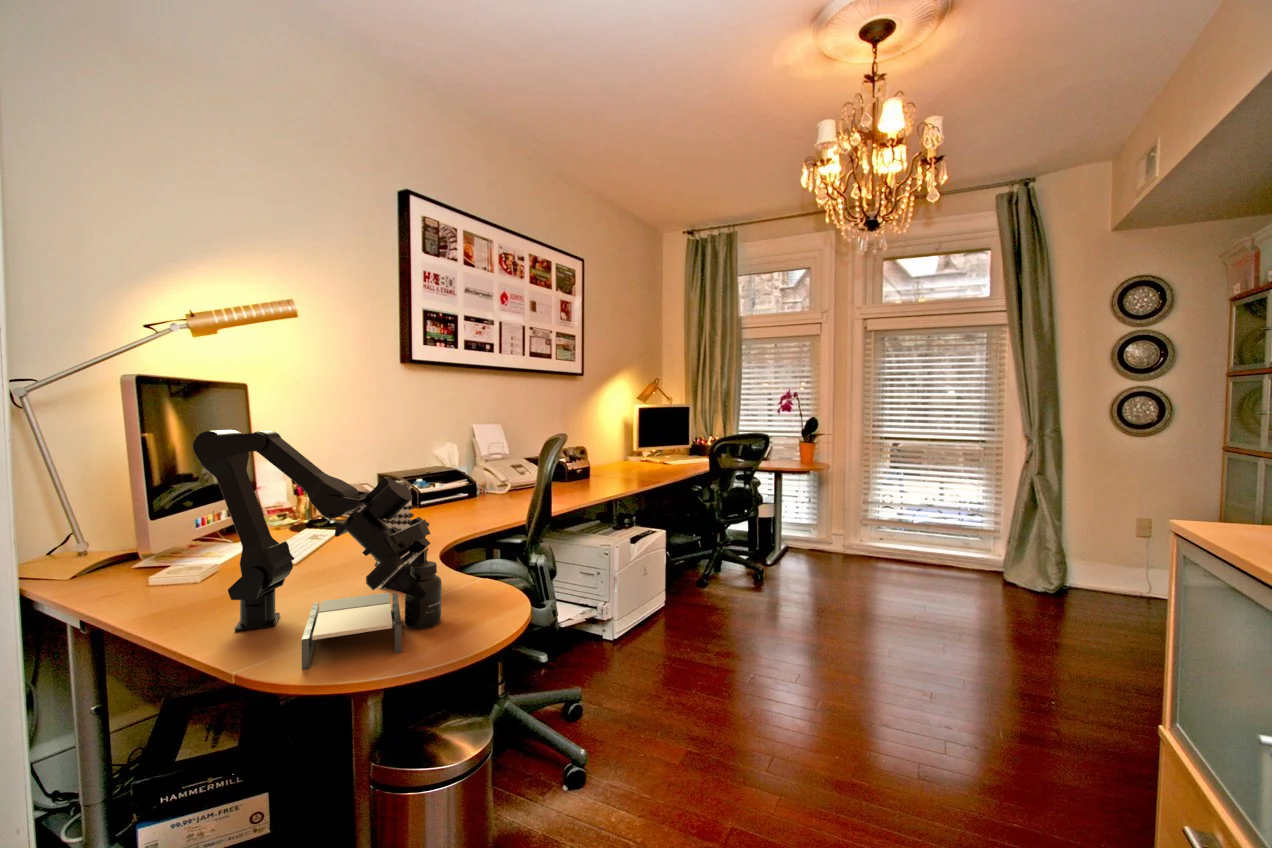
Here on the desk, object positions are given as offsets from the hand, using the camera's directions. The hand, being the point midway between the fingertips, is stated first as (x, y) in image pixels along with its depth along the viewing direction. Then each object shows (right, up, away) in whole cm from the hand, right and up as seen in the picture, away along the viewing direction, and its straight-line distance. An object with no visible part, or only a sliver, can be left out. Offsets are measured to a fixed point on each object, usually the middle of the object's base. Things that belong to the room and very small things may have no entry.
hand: (430, 590), depth 107 cm
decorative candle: (-18, -6, +24) cm, 31 cm away
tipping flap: (-11, -4, -8) cm, 14 cm away
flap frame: (-11, -7, -8) cm, 15 cm away
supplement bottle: (-1, -7, 0) cm, 7 cm away
